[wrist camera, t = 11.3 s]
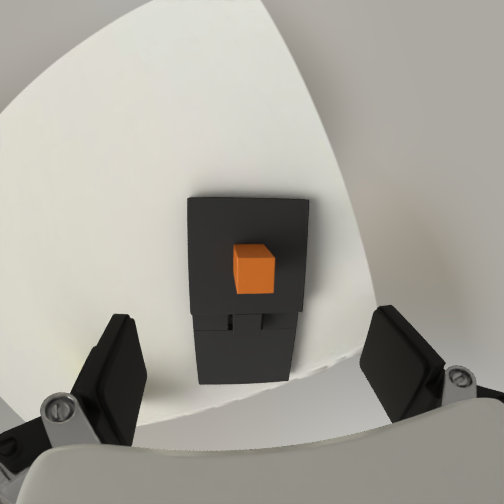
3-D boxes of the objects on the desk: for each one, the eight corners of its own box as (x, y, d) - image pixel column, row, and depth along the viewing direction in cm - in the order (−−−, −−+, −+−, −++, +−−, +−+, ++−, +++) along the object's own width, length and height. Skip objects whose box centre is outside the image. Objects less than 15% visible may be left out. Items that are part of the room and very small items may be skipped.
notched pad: (286, 373, 37) (288, 381, 36) (199, 377, 36) (198, 384, 35) (296, 299, 33) (299, 305, 32) (192, 301, 32) (191, 308, 31)
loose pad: (297, 328, 33) (316, 362, 25) (193, 330, 31) (187, 368, 24) (305, 199, 30) (331, 202, 22) (188, 197, 28) (178, 199, 21)
